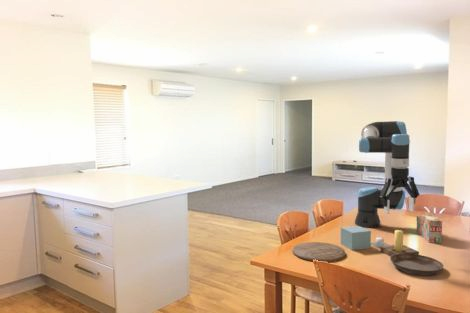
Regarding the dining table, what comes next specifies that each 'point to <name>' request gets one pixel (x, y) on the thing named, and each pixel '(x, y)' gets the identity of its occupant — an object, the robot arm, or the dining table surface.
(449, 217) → the dining table surface
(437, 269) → the plant saucer
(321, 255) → the trivet
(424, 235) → the printed food box
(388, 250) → the socket board
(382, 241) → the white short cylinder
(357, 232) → the block
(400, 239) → the peg
